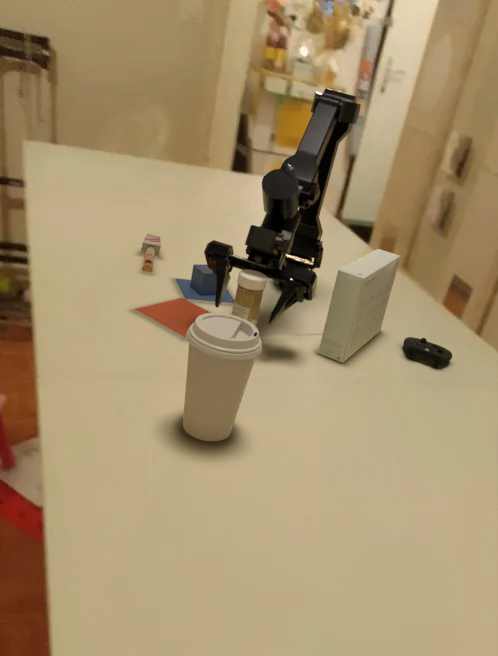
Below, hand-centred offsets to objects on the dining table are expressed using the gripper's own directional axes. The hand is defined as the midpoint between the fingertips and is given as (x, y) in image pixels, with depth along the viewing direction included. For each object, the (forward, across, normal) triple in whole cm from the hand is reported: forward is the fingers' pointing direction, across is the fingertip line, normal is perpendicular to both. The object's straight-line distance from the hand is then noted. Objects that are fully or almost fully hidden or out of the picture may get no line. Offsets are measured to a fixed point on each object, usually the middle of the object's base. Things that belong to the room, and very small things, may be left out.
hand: (242, 314), depth 109 cm
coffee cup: (+22, +4, -12) cm, 26 cm away
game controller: (-12, +31, +22) cm, 39 cm away
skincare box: (-9, +16, +19) cm, 27 cm away
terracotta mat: (0, -12, +9) cm, 15 cm away
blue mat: (-10, -13, +20) cm, 26 cm away
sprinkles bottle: (+4, 0, +6) cm, 7 cm away
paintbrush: (-17, -30, +27) cm, 43 cm away
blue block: (-10, -13, +20) cm, 26 cm away
